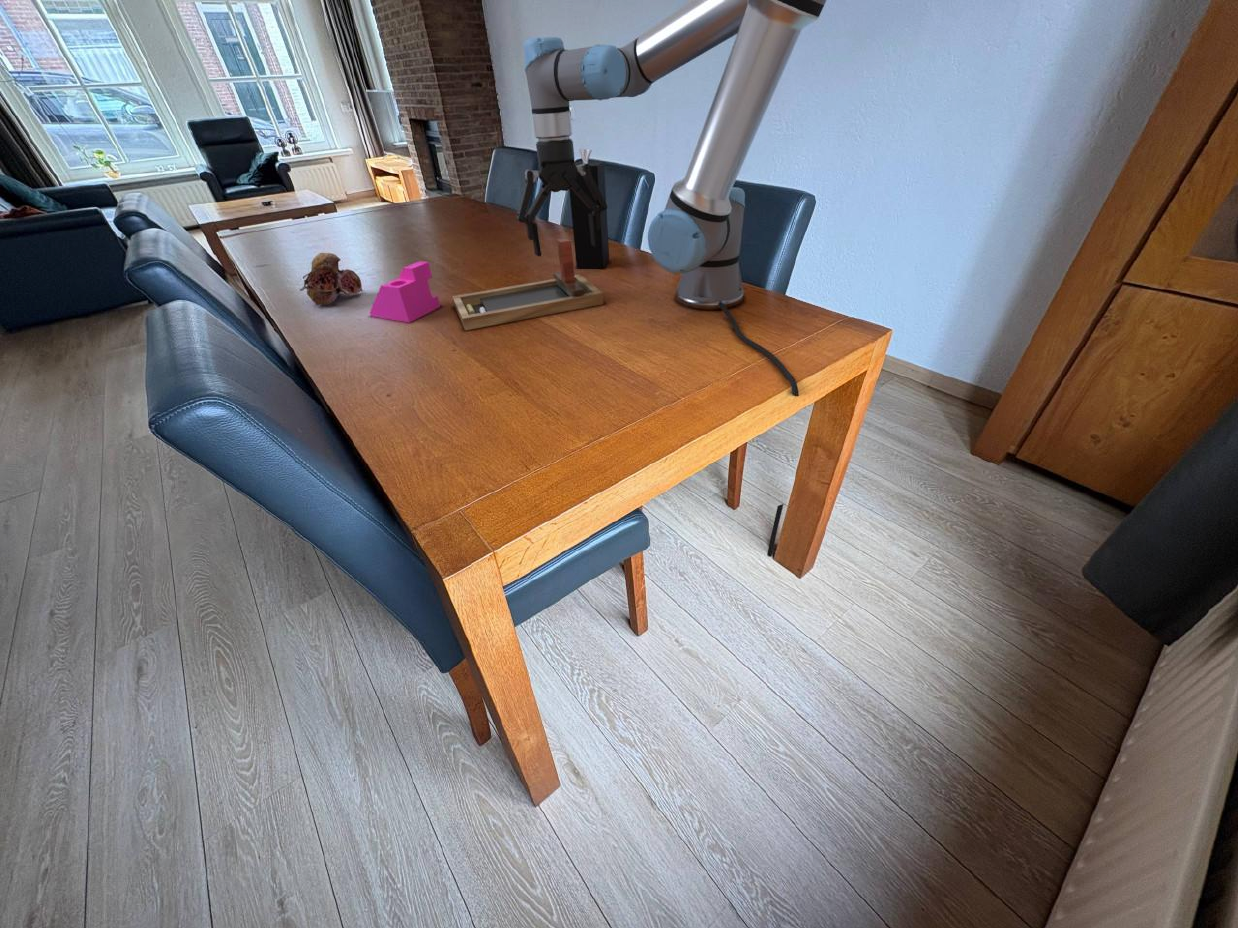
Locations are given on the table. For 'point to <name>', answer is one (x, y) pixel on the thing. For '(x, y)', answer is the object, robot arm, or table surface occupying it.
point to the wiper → (567, 269)
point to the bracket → (406, 295)
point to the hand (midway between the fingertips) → (566, 250)
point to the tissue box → (580, 218)
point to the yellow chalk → (470, 309)
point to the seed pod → (329, 280)
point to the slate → (523, 302)
